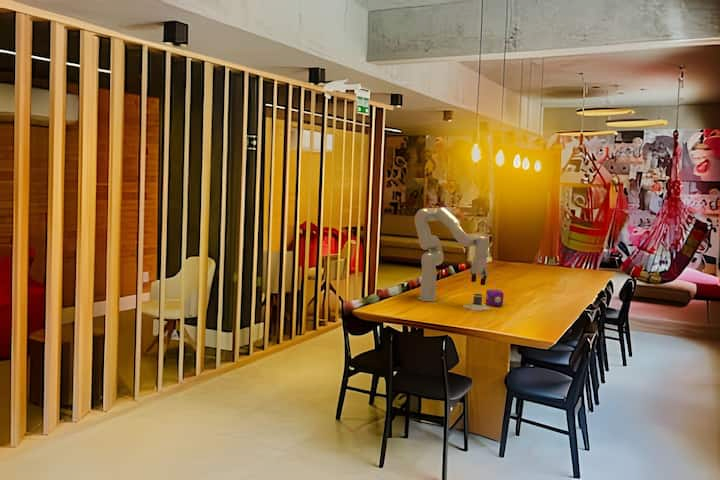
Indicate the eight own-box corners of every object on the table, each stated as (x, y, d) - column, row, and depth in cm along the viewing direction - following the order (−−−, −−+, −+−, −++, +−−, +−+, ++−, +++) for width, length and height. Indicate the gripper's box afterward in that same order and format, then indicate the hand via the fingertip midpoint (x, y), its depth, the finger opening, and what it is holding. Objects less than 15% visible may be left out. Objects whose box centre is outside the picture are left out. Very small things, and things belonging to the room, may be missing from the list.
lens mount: (463, 307, 393) (463, 302, 393) (479, 306, 398) (479, 301, 398) (474, 311, 382) (475, 306, 382) (490, 310, 387) (491, 305, 387)
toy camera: (492, 307, 396) (493, 291, 396) (482, 303, 410) (483, 288, 409) (507, 307, 399) (508, 292, 398) (497, 303, 412) (498, 288, 412)
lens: (471, 306, 391) (472, 293, 390) (478, 306, 393) (479, 293, 393) (476, 308, 386) (477, 295, 386) (483, 307, 389) (484, 294, 388)
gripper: (467, 253, 393) (465, 280, 395) (484, 258, 378) (481, 286, 380) (477, 254, 396) (474, 280, 398) (494, 258, 381) (491, 286, 383)
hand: (478, 283), depth 389 cm, fingers open, 9 cm apart
